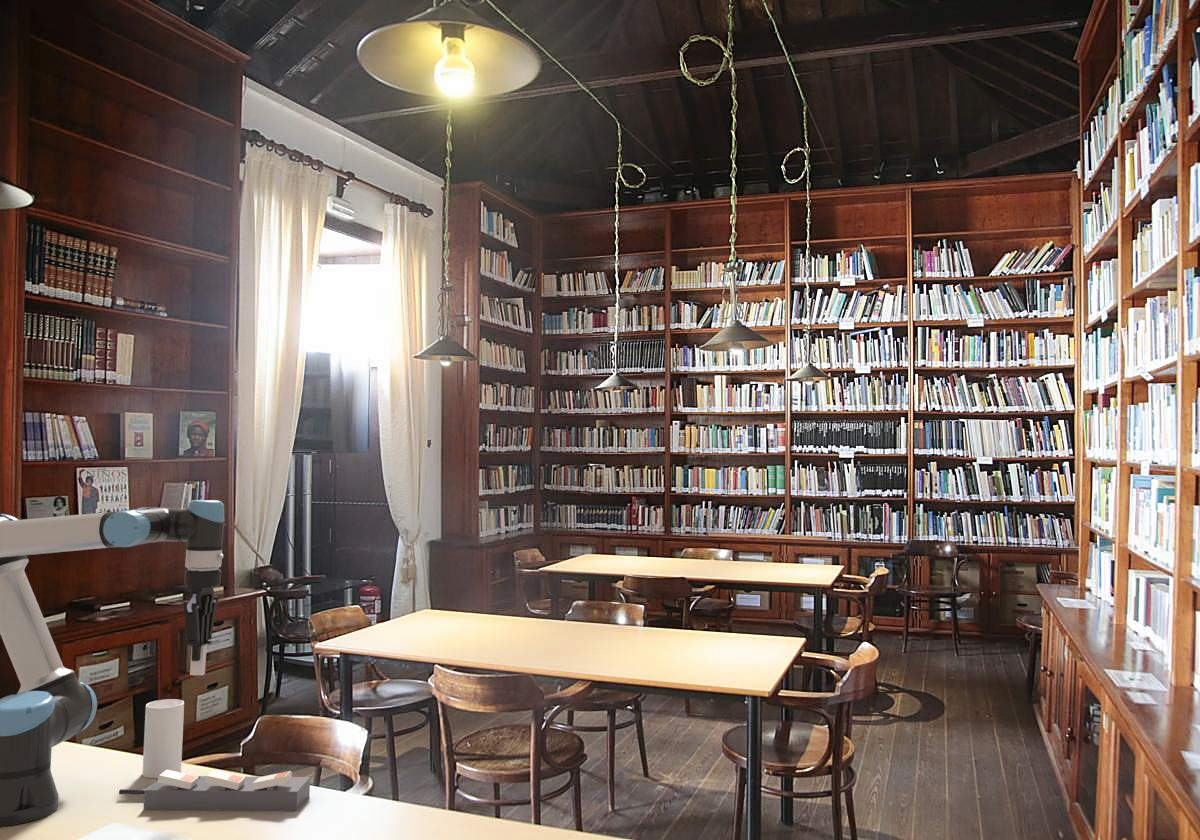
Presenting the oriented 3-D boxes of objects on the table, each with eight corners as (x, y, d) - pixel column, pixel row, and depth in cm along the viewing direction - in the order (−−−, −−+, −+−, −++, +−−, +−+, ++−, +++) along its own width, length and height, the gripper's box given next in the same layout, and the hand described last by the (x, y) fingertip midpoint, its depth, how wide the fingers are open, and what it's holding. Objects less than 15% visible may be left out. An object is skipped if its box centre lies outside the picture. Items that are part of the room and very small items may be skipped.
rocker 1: (157, 782, 189) (159, 774, 189) (165, 776, 193) (167, 769, 193) (189, 789, 189) (191, 782, 189) (197, 783, 193) (198, 776, 193)
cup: (188, 767, 215) (191, 699, 216) (168, 778, 207) (171, 708, 208) (155, 765, 216) (158, 698, 217) (134, 777, 208) (138, 707, 209)
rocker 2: (205, 782, 189) (207, 775, 189) (212, 776, 193) (213, 769, 193) (237, 789, 189) (239, 782, 189) (243, 784, 193) (245, 776, 193)
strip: (104, 809, 188) (106, 787, 188) (126, 794, 197) (127, 773, 197) (296, 810, 189) (297, 789, 189) (309, 795, 198) (310, 774, 198)
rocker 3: (253, 790, 189) (252, 782, 189) (260, 784, 193) (258, 776, 193) (286, 783, 190) (285, 776, 190) (292, 777, 193) (290, 770, 193)
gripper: (207, 572, 196) (201, 681, 194) (231, 566, 209) (226, 668, 207) (173, 571, 196) (166, 680, 194) (199, 565, 209) (193, 667, 207)
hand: (197, 674), depth 201 cm, fingers closed
